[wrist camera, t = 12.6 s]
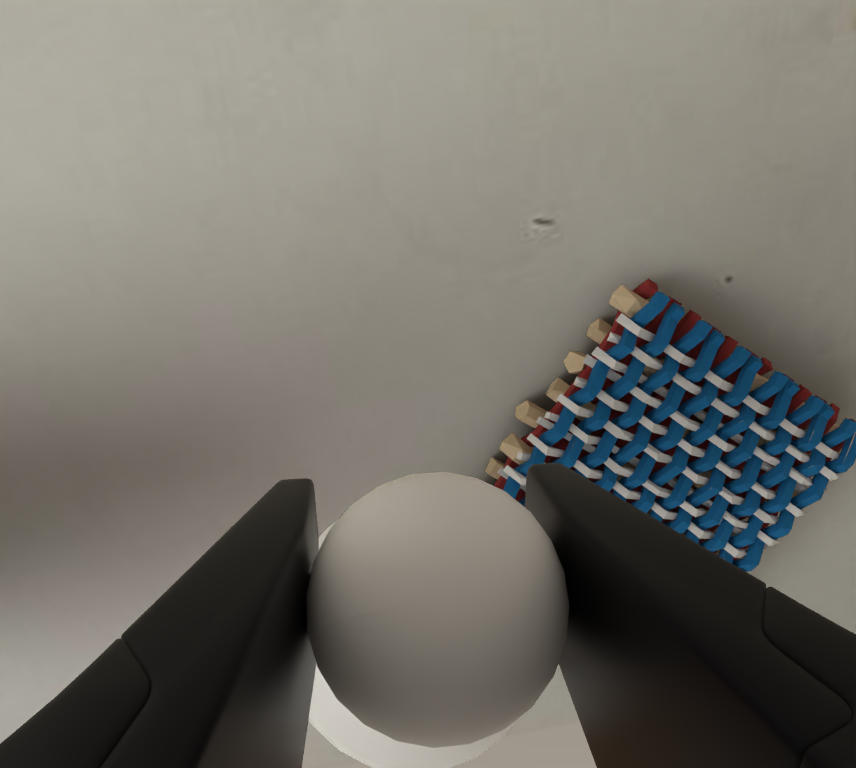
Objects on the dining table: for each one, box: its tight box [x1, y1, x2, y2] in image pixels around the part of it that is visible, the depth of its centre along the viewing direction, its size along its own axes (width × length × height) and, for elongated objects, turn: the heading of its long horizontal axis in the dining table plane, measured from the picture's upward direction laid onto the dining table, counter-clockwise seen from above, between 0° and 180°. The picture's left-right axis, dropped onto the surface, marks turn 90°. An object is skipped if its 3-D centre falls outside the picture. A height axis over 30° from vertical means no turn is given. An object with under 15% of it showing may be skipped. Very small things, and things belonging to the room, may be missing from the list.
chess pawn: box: [306, 472, 570, 768], centre depth 11 cm, size 5×5×9 cm
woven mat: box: [485, 279, 856, 571], centre depth 24 cm, size 10×11×2 cm
